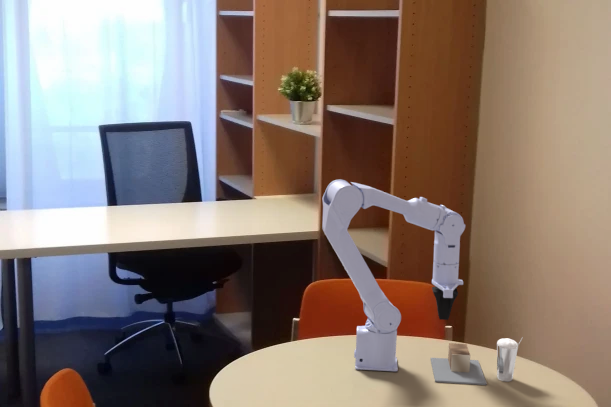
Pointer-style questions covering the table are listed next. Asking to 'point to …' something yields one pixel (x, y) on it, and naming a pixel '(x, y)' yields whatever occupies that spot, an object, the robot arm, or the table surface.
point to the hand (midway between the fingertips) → (443, 318)
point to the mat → (457, 373)
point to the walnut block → (459, 357)
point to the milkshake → (506, 358)
